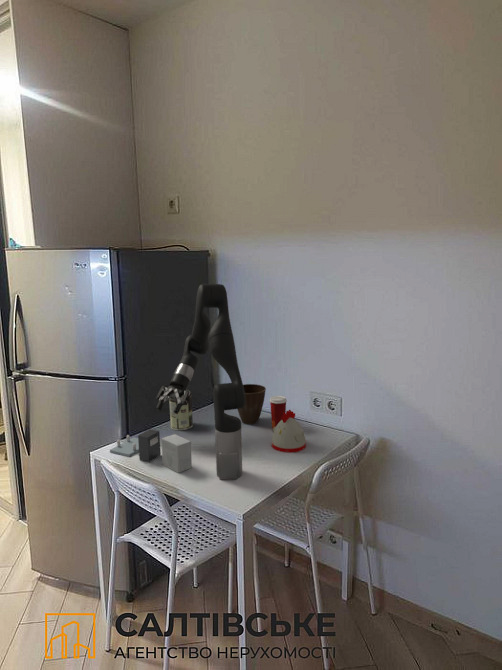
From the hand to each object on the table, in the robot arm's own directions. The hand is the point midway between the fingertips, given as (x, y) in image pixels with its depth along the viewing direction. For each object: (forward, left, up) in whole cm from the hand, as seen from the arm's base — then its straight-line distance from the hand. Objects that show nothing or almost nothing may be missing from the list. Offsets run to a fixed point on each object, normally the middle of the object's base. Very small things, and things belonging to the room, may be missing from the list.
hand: (166, 411), depth 189 cm
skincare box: (-17, -7, -15) cm, 24 cm away
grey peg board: (-1, +15, -15) cm, 21 cm away
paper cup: (+21, -45, -15) cm, 52 cm away
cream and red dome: (+2, -49, -15) cm, 51 cm away
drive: (-10, +5, -15) cm, 19 cm away
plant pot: (+29, -32, -15) cm, 46 cm away
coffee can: (+23, -1, -15) cm, 27 cm away
